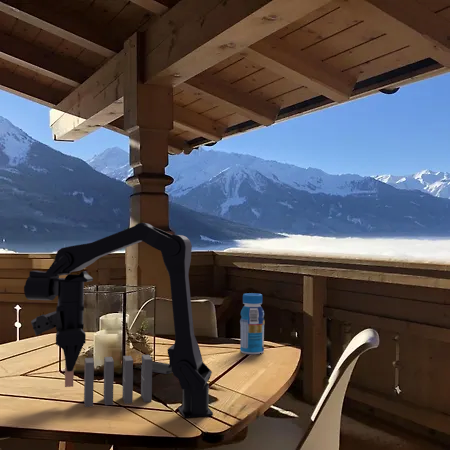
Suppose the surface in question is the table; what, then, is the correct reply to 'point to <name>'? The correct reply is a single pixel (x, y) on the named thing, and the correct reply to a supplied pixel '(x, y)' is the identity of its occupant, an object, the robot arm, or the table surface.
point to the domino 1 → (68, 377)
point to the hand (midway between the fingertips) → (69, 368)
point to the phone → (161, 368)
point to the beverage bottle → (252, 324)
